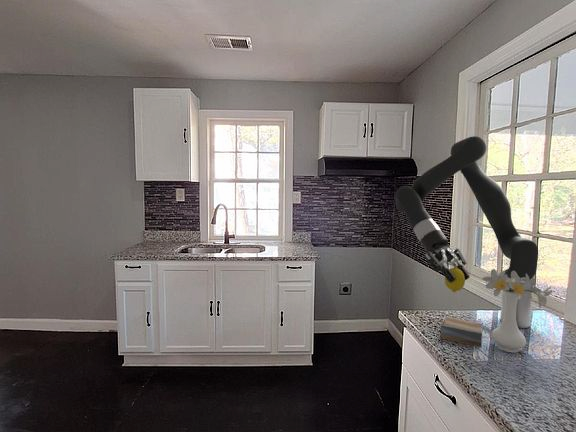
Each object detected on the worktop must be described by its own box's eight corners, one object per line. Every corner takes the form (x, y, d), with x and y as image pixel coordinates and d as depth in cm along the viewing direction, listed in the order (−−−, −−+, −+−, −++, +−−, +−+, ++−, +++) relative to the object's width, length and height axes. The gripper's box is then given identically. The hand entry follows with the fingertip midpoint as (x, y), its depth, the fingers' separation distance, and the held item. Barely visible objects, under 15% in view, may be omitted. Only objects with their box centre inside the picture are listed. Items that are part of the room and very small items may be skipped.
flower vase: (544, 367, 95) (550, 282, 93) (473, 346, 108) (477, 270, 106) (548, 351, 105) (555, 274, 103) (483, 333, 117) (487, 264, 115)
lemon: (463, 296, 99) (465, 270, 98) (443, 293, 101) (444, 267, 101) (464, 291, 104) (465, 266, 103) (444, 288, 106) (446, 264, 105)
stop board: (445, 320, 129) (446, 309, 128) (481, 327, 123) (482, 315, 122) (440, 338, 113) (441, 325, 113) (481, 346, 107) (482, 333, 107)
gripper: (438, 241, 116) (468, 283, 106) (407, 243, 110) (435, 289, 100) (452, 227, 110) (484, 271, 101) (420, 229, 105) (451, 276, 95)
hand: (459, 279), depth 100 cm, fingers closed on lemon, 5 cm apart
